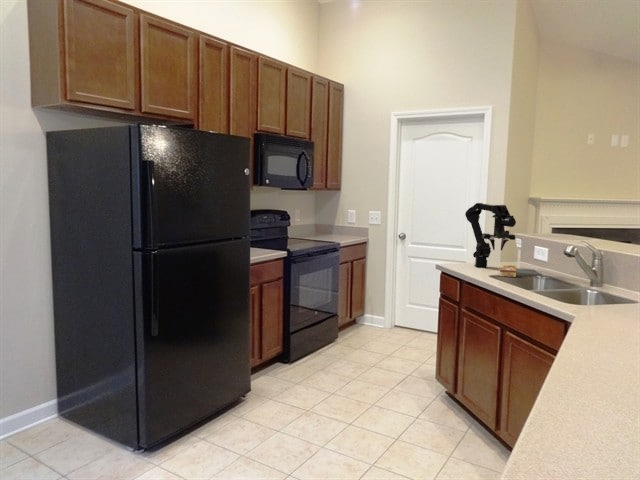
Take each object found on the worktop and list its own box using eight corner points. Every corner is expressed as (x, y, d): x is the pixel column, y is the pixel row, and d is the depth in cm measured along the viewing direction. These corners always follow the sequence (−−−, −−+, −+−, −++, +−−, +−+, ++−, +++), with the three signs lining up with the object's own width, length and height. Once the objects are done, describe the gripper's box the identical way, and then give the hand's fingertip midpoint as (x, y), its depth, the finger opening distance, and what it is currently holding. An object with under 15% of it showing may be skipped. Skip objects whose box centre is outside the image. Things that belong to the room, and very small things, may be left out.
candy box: (500, 271, 292) (499, 276, 278) (500, 264, 291) (499, 269, 277) (515, 272, 288) (515, 277, 274) (515, 265, 288) (516, 270, 274)
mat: (515, 274, 284) (515, 273, 284) (508, 269, 299) (508, 268, 299) (542, 275, 283) (542, 274, 283) (534, 270, 297) (534, 269, 297)
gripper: (486, 226, 282) (484, 251, 284) (518, 227, 280) (516, 253, 282) (482, 224, 293) (480, 249, 295) (513, 225, 291) (511, 250, 293)
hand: (497, 250), depth 291 cm, fingers open, 4 cm apart
